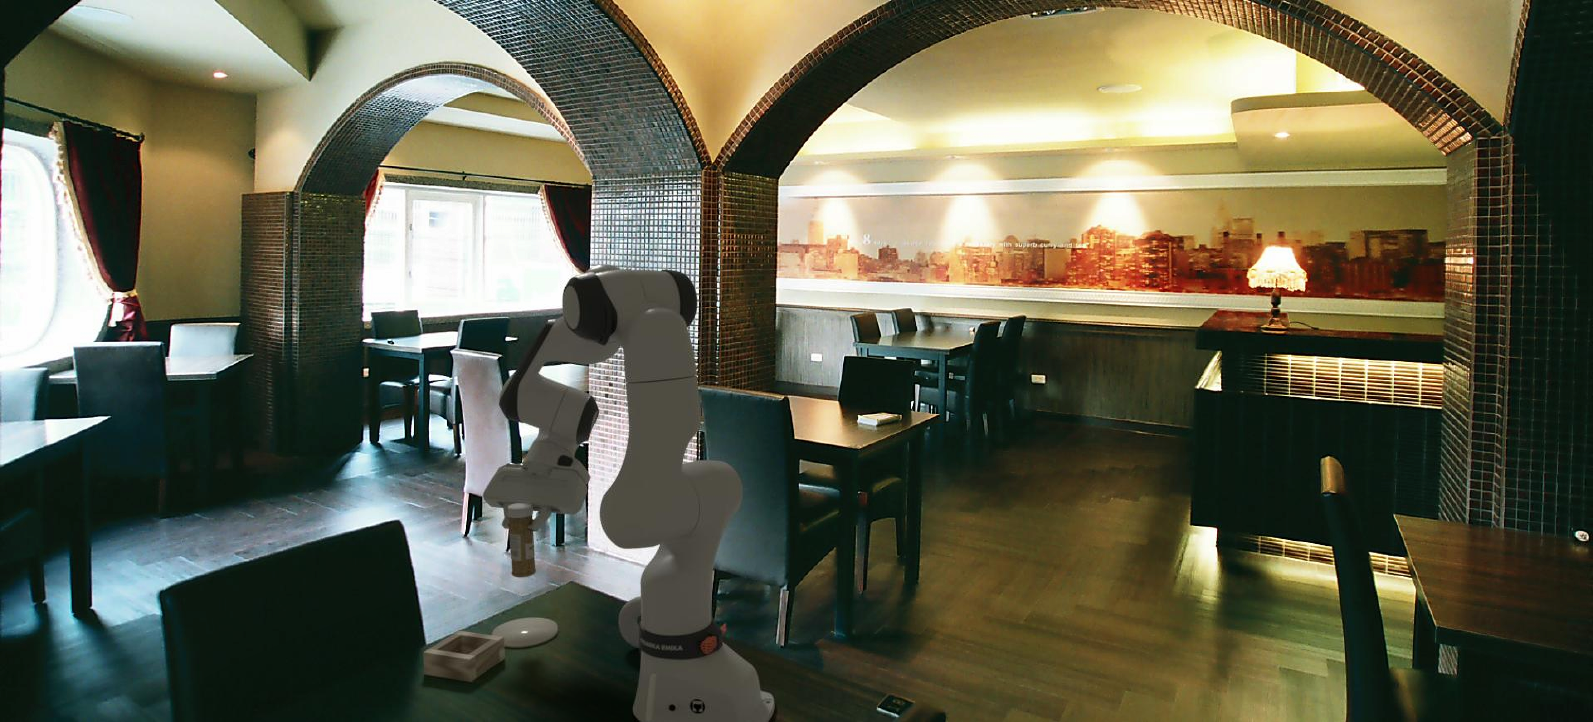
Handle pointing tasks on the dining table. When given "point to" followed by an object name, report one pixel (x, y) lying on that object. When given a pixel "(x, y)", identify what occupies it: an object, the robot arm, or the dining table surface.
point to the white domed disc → (526, 631)
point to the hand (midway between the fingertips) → (519, 528)
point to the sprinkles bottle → (521, 540)
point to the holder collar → (464, 656)
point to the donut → (630, 621)
